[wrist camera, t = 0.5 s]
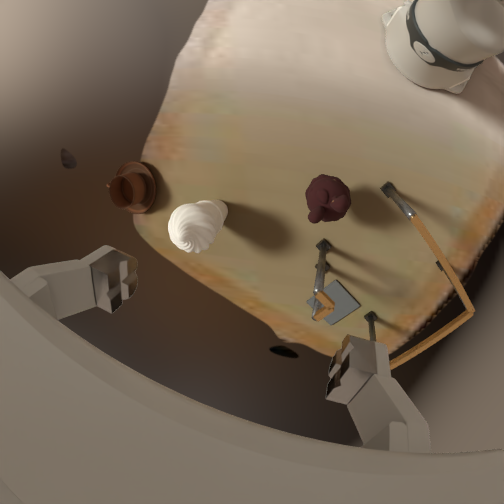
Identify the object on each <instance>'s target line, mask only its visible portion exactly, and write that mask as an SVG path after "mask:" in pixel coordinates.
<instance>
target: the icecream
mask: <svg viewBox="0 0 504 504" xmlns="http://www.w3.org/2000/svg"><path fill="white" fill-rule="evenodd" d="M305 194H306V199H307V205H308V208H309V210H310V211H311V212H310V213H309V215H308V219H309V221H310V222H312V223H318V222H320V221H321V220H322V221H324V222H329V221H337V220H339V219H340V218H343V217H344V215H345V214H346V212H347V210H348V209H349V207H350V205H351V198H350V190H349V188H348V187H347V186H346V185H345V184H344V183H343V182H342V181H341V180H340V179H339V178H337V177H334V176H328V175H324V174H321V175H319V176H318V177H317V178H314V179H313V180H312V182H311V184H310V185H309V187H308V188H307V190H306V193H305Z"/></svg>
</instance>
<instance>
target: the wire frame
mask: <svg viewBox="0 0 504 504" xmlns="http://www.w3.org/2000/svg"><path fill="white" fill-rule="evenodd" d="M380 189H381V190H382V191H383V193H384V194H385V195H386V196H387V197H388V198H389V197H391V198H392V200H393V201H394V202H395V203H396V204H397V205H398V207H399V208H400V209H401V210H402V211H403V213H404V214H405V215H406V216H407V218H408V219H409V220H410V221H411V222H412V223H413V224H414V226H415V227H416V228H417V230H418V231H419V233H420V234H421V235H422V237H423V238H424V240H425V241H426V242H427V244H428V245H429V247H430V248H431V250H432V251H433V253H434V254H435V256H436V257H437V259H438V261H437V262H436V264H437V265H438V267H439V268H440V270H441V271H442V270H443V271H444V273H445V274H446V276H447V277H448V279H449V280H450V282H451V284H452V285H453V287H454V289H455V290H456V292H457V294H458V295H459V297H460V299H461V300H462V302H463V304H464V306H465V308H466V309H467V310H466V311H464V312H463V313H462V314H461V315H459V316H458V317H457V318H455V319H454V320H453V321H451V322H450V323H448V324H447V325H446V326H444V327H443V328H442V329H440V330H439V331H437V332H436V333H434V334H433V335H431V336H430V337H428V338H427V339H425V340H424V341H422V342H421V343H419V344H418V345H417V346H415V347H413V348H411V349H410V350H408V351H407V352H405V353H403V354H402V355H400V356H399V357H397V358H395V359H393V360H392V361H390V362H389V364H390V370H391V369H393V368H395V367H397V366H399V365H400V364H402V363H404V362H406V361H407V360H409V359H411V358H412V357H414V356H416V355H417V354H419V353H420V352H422V351H424V350H425V349H427V348H428V347H430V346H431V345H433V344H434V343H436V342H437V341H439V340H440V339H442V338H443V337H445V336H446V335H447V334H449V333H450V332H452V331H453V330H454V329H456V328H457V327H459V326H460V325H461V324H462V323H464V322H465V321H467V320H468V319H469V318H470V317H472V316H473V313H474V311H475V309H474V307H473V305H472V304H471V302H470V300H469V298H468V296H467V294H466V292H465V290H464V288H463V287H462V285H461V283H460V281H459V279H458V278H457V276H456V274H455V273H454V271H453V269H452V267H451V266H450V264H449V262H448V261H447V259H446V258H445V256H444V254H443V253H442V251H441V250H440V248H439V247H438V245H437V244H436V242H435V241H434V239H433V238H432V236H431V235H430V233H429V232H428V230H427V229H426V227H425V226H424V225H423V223H422V222H421V220H420V219H419V218H418V216H417V214H416V213H415V211H414V210H413V209H412V208H411V207H410V206H409V205H408V204H407V203H406V202H405V201H404V200H403V199H402V198H401V197H400V196H399V195H398V194H397V193H396V192H395V191H396V190H395V189H394V188H393V186H392V185H391V184H390V183H389V182H387V183H386V184H384V185H383V186H382V187H381V188H380ZM316 247H317V248H318V249H319V250H320V253H319V260H318V264H316V265H315V267H316V268H317V273H316V279H315V286H314V292H313V293H314V295H315V300H314V307H313V313H312V319H313V320H315V321H320V320H321V319H323V318H324V317H326V316H327V315H329V314H330V313H332V312H333V311H334V307H335V302H334V301H333V300H332V299H331V298H330V297H329V296H328V295H327V294H326V293H325V292H324V291H323V288H324V279H325V271H327V270H328V269H329V268H330V266H329V265H328V264H327V263H326V262H325V261H326V251H327V250H329V249H330V248H331V245H330V244H329V243H328V242H327V241H326V240H325V239H323V240H321V241H320V242H319V243H318V244H317V245H316ZM322 304H323V305H324V307H322V308H321V306H322ZM364 318H365V319H366V320H367V321H368V323H369V333H370V341H375V342H376V334H375V326H374V320H376V319H377V316H376V315H375V314H374V313H373V312H372V311H371V312H369V313H368V314H366V315H365V316H364Z"/></svg>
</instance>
